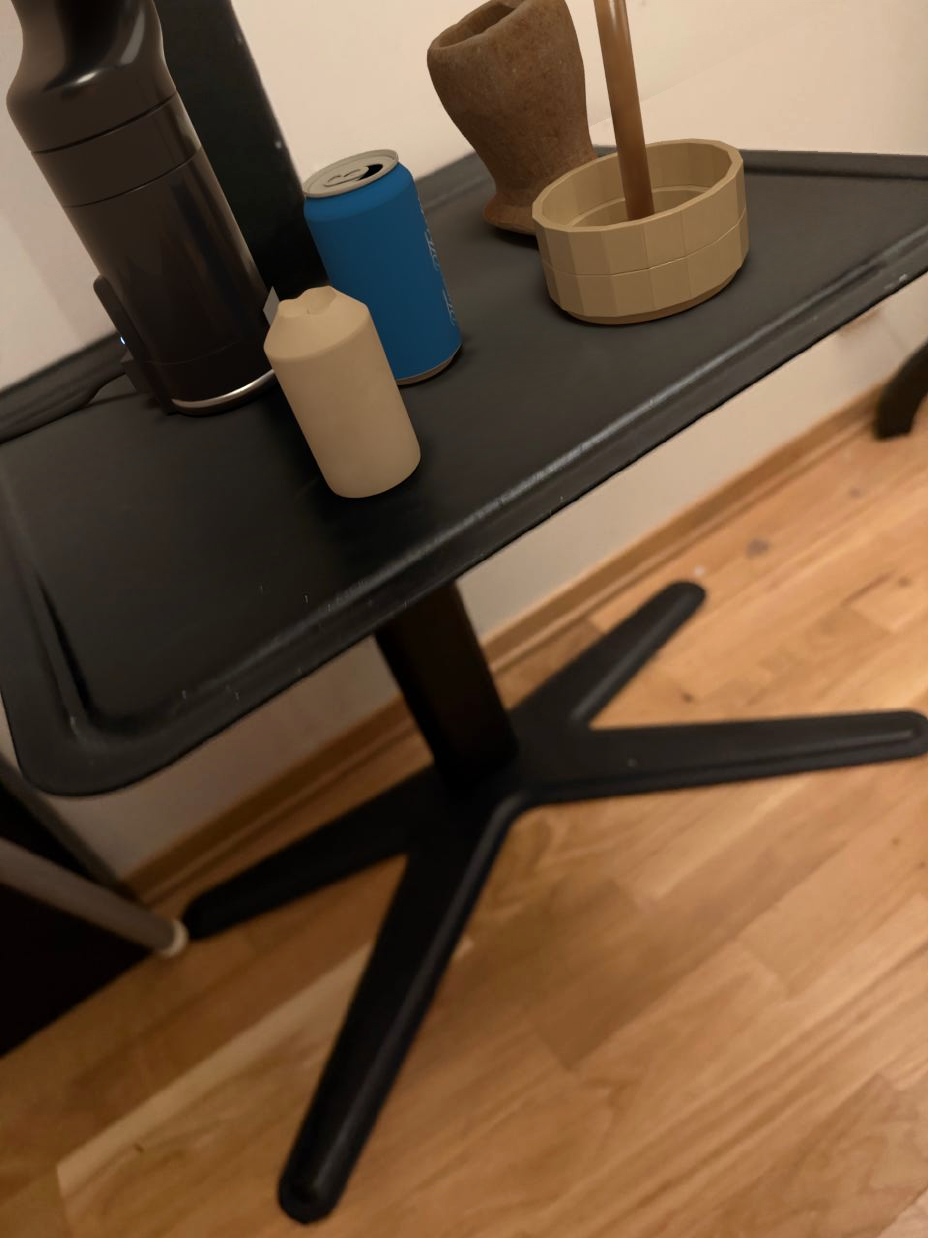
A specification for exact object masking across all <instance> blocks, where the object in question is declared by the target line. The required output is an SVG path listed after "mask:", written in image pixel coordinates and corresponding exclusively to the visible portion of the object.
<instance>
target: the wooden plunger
mask: <svg viewBox="0 0 928 1238" xmlns="http://www.w3.org/2000/svg"><path fill="white" fill-rule="evenodd" d="M592 1H593V8H594V15H595V19H596V26H597V34H598V39H599V46H600V50H601V52H600V53H601V58H602V65H603V70H604V77H605V83H606V91H607V94H608V95H607V97H608V101H609V102H608V103H609V108H610V115H611V122H612V128H613V133H614V135H613V136H614V140H615V147H616V152H617V154H618V160H619V166H620V173H621V179H622V185H623V192H624V198H625V204H626V211H627V217H628V219H625V220H623V221H621V222H619V223H623V222H628V221H634V220H639V219H643V218H646V217H649V216H652V215H655V214H658V213H661V212H664V211H656V212H654V205H653V197H652V190H651V183H650V175H649V168H648V161H647V154H646V146H645V145H646V139H645V132H644V126H643V118H642V111H641V104H640V96H639V89H638V83H637V82H638V81H637V73H636V67H635V61H634V52H633V45H632V38H631V37H632V36H631V31H630V23H629V17H628V9H627V8H628V7H627V3H626V2H627V1H626V0H592ZM617 224H618V223H617Z"/></svg>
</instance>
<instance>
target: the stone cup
mask: <svg viewBox="0 0 928 1238" xmlns="http://www.w3.org/2000/svg"><path fill="white" fill-rule="evenodd" d="M426 67H427V70H428V73H429V77H430V80H431V84H432V85H433V88H434V91H435V94H436V95H437V97H438V99H439V101H440V103H441V106H442V107H443V109H444V111H445V113H446V114H447V116H448V117H449V119H450V120H451V122H452V123H453V124H454V125H455V127H456V128H457V130H458V131H459V132H460V133H461V135H462V136H463V138H465V140H466V141H467V143H469V145H470V146H471V147H472V148H473V150H474V151H475V153H476V154H477V156H478V157H479V158H480V160H481V161H482V163H483V164H484V166H485V168H486V169H487V171H488V172H489V174H490V176H491V177H492V180H493V182H494V185H495V192H496V193H495V195H493V196H492V197H491V199H489V201H488V202H487V203H486V205H485V206H484V207H483V213H482V215H483V217H484V219H485V220H486V221H487V222H488V224H491V225H492V226H494V227H496V228H498V229H501V230H506V231H509V232H513V233H517V234H521V235H522V234H523V235H528V236H535V237H536V233H535V228H534V224H533V219H532V204H533V202H534V201H535V200H536V199H537V197H538V196H539V195H540V193H541V192H542V191H543V190H544V189H545V188H546V187H547V186H549V185H550V184H552V183H553V182H554V181H556V180H557V179H559V178H560V177H561V176H563V175H564V174H566V173H568V172H570V171H572V170H574V169H576V168H578V167H580V166H582V165H584V164H586V163H588V162H590V161H592V160H595V159H598V158H600V157H599V156H598V155H597V153H596V151H595V150H594V146H593V142H592V138H591V137H592V136H591V134H590V127H589V118H588V106H587V91H586V90H587V89H586V88H587V87H586V71H585V65H584V59H583V55H582V50H581V47H580V42H579V38H578V34H577V31H576V27H575V24H574V20H573V17H572V13H571V11H570V8H569V6H568V4H567V1H566V0H488V1H486V2H484V3H483V4H481V5H480V6H478V7H476V8H474V9H473V10H471V11H470V12H468V13H467V14H465V15H464V16H463V17H462V18H461V19H460V20H459V21H457V23H454V24H452V25H450V26H449V27H447V28H444V30H443V31H441V32H440V33H439V34H438V35H437V36H436V37H434V39H433V40H431V42H430V45H429V46H428V48H427V51H426Z"/></svg>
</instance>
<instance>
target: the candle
mask: <svg viewBox="0 0 928 1238" xmlns="http://www.w3.org/2000/svg"><path fill="white" fill-rule="evenodd" d="M279 302H280V303H279V305H278V309H277V313H276V316H275V319H274V321H273V323H272V325H271V327H270V330H269V332H268V334H267V337H266V340H265V343H264V351H265V353H266V355H267V357H268V360H269V362H270V364H271V366H272V368H273V370H274V372H275V374H276V377H277V379H278V381H279V382H278V383H279V385H280V387H281V390H282V391H283V393H284V395H285V398H286V400H287V402H288V404H289V406H290V408H291V411H292V413H293V415H294V417H295V420H296V421H297V424H298V425H299V427H300V430H301V431H302V435H303V436H304V438H305V440H306V442H307V445H308V446H309V448H310V451H311V453H312V455H313V456H314V460H316V463H317V466H318V469H320V472H321V473H322V476H323V478H324V480H325V482H326V484H327V486H328V487H329V488H330V489H331V491H332V492H333V493H334V494H335V495H337V496H340V497H343V498H348V499H349V498H350V499H360V498H366V497H371V496H374V495H378V494H381V493H384V492H386V491H388V490H390V489H392V488H395V486H397V485H399V484H401V483H402V482H403V481H406V479H407V478H408V477H410V476H411V474H412V473H413V472H414V471H415V470H416V468H417V467H418V465H419V464H420V460H421V448H420V445H419V441H418V439H417V435H416V433H415V429H414V427H413V425H412V422H411V420H410V417H409V414H408V411H407V408H406V406H405V404H404V401H403V397H402V395H401V393H400V389H399V387H398V385H396V382H395V379H394V376H393V374H392V371H391V368H390V366H389V363H388V360H387V358H386V355H385V352H384V350H383V347H382V344H381V342H380V339H379V336H378V334H377V331H376V328H375V326H374V323H373V320H372V318H371V315H370V312H369V310H368V308H367V306H366V305H365V304H363V303H361V302H360V301H357V300H355V299H353V298H351V297H349V296H347V295H345V294H343V293H341V292H339V291H337V290H336V289H334V288H333V287H332V285H325V286H320V287H312V288H307V290H304V292H302V293H301V295H299V296H298V297H297V298H293V299H284V300H281V301H279Z"/></svg>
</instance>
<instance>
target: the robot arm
mask: <svg viewBox="0 0 928 1238" xmlns="http://www.w3.org/2000/svg"><path fill="white" fill-rule="evenodd" d="M10 2H11V5H12V7H13V9H14V11H15V13H16V16H17V18H18V21H19V25H20V28H21V34H22V50H21V55H20V61H19V65H18V68H17V70H16V73H15V75H14V77H13V80H12V81H11V84H10V85H9V88H8V89H7V92H6V97H5V105H6V110H7V112H8V116H9V117H10V120H11V121H12V124H13V125H14V127H15V129H16V131H17V132H18V134H19V136H20V137H21V139H22V141H23V143H24V145H25V146H26V148H27V150H28V151H29V152H30V155H31V157H32V159H33V160H34V162H35V164H36V166H37V167H38V169H39V170H40V172H41V174H42V176H43V178H44V179H45V181H46V183H47V184H48V187H49V188H50V190H51V192H52V193H53V195H54V197H55V199H56V200H57V202H58V204H59V205H60V207H61V209H62V210H63V213H64V214H65V215H66V218H67V220H68V221H69V222H70V224H71V227H72V228H73V230H74V232H75V234H76V235H77V236H78V238H79V240H80V242H81V244H82V245H83V247H84V248H85V251H86V253H87V254H88V256H89V258H90V259H91V261H92V263H93V265H94V267H95V269H96V271H98V273H99V274H98V276H97V277H96V278H94V281H93V284H92V289H93V292H94V294H95V296H96V297H97V299H98V300H99V302H100V304H101V306H102V308H103V309H104V310H105V312H106V314H107V316H108V318H109V319H110V321H111V322H112V324H113V326H114V328H115V330H116V331H117V333H118V335H119V336H120V339H121V342H122V343H123V344H124V345H125V347H126V348H127V351H126V353H125V354H124V356H122V359H121V360H120V361H119V364H118V365H116V366H114V367H111V368H110V369H108V370H106V371H105V372H103V373H101V374H100V375H98V376H97V377H95V379H93V380H92V381H91V382H90V383H89V384H88V386H87V388H86V389H85V390H84V391H83V392H82V393H81V394H79V395H78V396H76V397H74V398H73V399H71V400H70V401H68V402H66V403H64V404H62V405H60V406H58V407H56V408H54V409H53V410H50V411H48V412H45V413H43V414H42V415H39V416H37V417H34V418H31V419H28V420H27V421H24V422H21V423H18V424H16V425H13V426H10V427H7V428H4V429H1V430H0V442H4V441H7V440H10V439H12V438H13V439H14V438H16V437H18V436H21V435H25V434H27V433H30V432H32V431H35V430H37V429H39V428H41V427H44V426H46V425H48V424H51V423H53V422H54V421H57V420H60V419H61V418H64V417H66V416H68V415H70V414H71V413H74V412H75V411H77V410H79V409H81V408H82V407H84V406H86V405H87V404H89V403H90V402H92V401H93V400H94V398H95V397H96V395H97V394H98V393H99V391H101V389H102V388H104V387H105V386H107V385H108V384H110V383H112V382H113V381H115V380H117V379H118V378H119V379H120V378H121V377H123V376H125V375H126V376H127V378H128V379H129V381H130V383H131V384H132V386H133V387H134V390H135V391H136V393H137V394H138V395H141V394H147V393H150V392H152V393H153V394H154V397H155V398H156V399H157V401H158V403H159V404H160V406H161V408H162V410H163V411H164V414H167V415H168V414H172V413H177V412H179V413H182V414H184V415H191V416H202V415H209V414H213V413H215V414H216V413H218V412H222V411H226V410H229V409H232V408H235V407H238V406H240V405H243V404H245V403H247V402H249V401H251V400H253V399H255V398H257V397H259V396H260V395H262V394H264V393H266V392H267V391H269V390H270V389H271V388H273V387H275V385H277V384H278V383H279V381H278V379H277V377H276V374H275V372H274V370H273V368H272V366H271V364H270V362H269V360H268V357H267V355H266V353H265V351H264V343H265V340H266V337H267V334H268V332H269V330H270V327H271V325H272V323H273V321H274V319H275V316H276V313H277V309H278V305H279V303H280V302H281V301H280V299H279V297H278V295H277V293H276V291H275V289H274V286H273V285H272V286H271V289H270V291H269V292H268V289H267V287H266V285H265V283H264V280H263V278H262V276H261V273H260V272H259V269H258V267H257V264H256V263H255V261H254V258H253V256H252V254H251V252H250V249H249V247H248V245H247V242H246V240H245V238H244V236H243V234H242V231H241V230H240V227H239V225H238V223H237V220H236V219H235V216H234V214H233V212H232V210H231V207H230V205H229V202H228V201H227V198H226V196H225V194H224V191H223V189H222V187H221V184H220V183H219V181H218V178H217V176H216V174H215V172H214V170H213V168H212V167H213V166H212V165H211V163H210V161H209V158H208V156H207V154H206V152H205V150H204V148H203V145H202V143H201V141H200V139H199V136H198V134H197V132H196V129H195V127H194V125H193V123H192V121H191V118H190V116H189V114H188V112H187V109H186V108H185V105H184V103H183V100H182V98H181V96H180V94H179V92H178V90H177V89H176V88H177V87H176V84H175V82H174V81H173V77H172V76H171V74H170V71H169V68H168V65H167V62H166V57H165V53H164V52H165V51H164V41H163V40H164V39H163V38H164V37H163V30H162V25H161V21H160V17H159V13H158V10H157V8H156V4H155V1H154V0H10Z"/></svg>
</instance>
